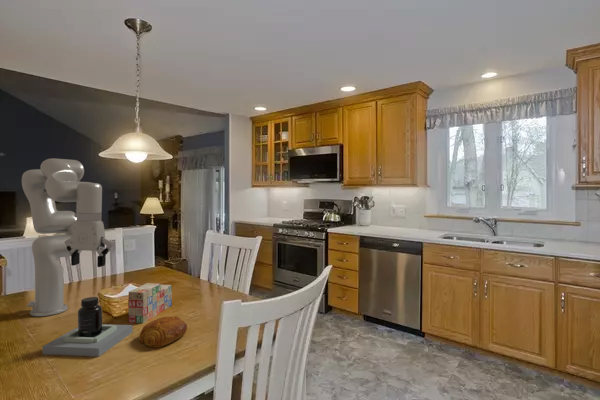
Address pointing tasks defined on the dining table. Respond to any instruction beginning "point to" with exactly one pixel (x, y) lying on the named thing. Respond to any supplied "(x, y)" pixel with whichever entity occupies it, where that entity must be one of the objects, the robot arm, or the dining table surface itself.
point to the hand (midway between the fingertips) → (88, 265)
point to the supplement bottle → (89, 318)
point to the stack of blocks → (148, 301)
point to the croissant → (162, 331)
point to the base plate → (88, 341)
